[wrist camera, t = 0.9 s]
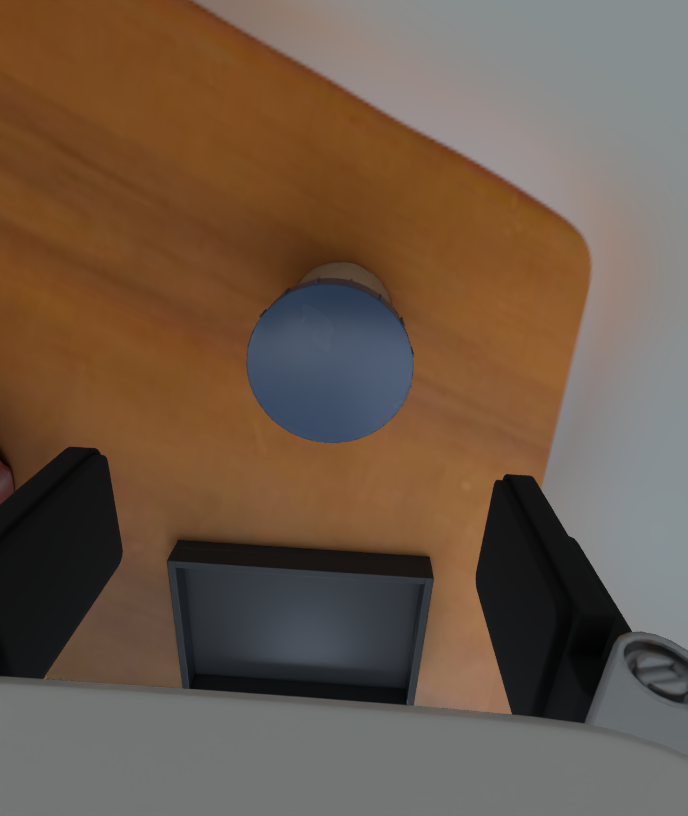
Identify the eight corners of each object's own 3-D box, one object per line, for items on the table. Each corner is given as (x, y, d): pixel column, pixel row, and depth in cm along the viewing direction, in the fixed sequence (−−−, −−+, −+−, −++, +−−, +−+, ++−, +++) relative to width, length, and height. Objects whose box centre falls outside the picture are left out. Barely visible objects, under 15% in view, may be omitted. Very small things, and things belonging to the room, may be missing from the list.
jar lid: (418, 281, 21) (423, 289, 19) (402, 431, 23) (405, 448, 22) (252, 272, 21) (243, 278, 19) (256, 422, 24) (248, 438, 22)
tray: (429, 556, 37) (433, 578, 34) (410, 685, 42) (412, 711, 40) (177, 540, 37) (166, 560, 35) (192, 670, 43) (183, 694, 41)
